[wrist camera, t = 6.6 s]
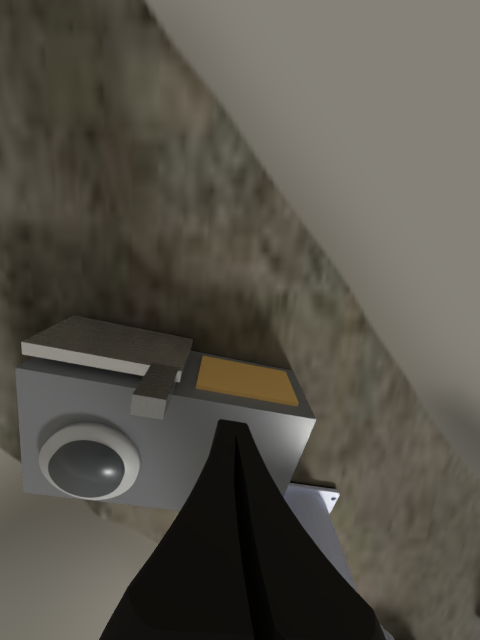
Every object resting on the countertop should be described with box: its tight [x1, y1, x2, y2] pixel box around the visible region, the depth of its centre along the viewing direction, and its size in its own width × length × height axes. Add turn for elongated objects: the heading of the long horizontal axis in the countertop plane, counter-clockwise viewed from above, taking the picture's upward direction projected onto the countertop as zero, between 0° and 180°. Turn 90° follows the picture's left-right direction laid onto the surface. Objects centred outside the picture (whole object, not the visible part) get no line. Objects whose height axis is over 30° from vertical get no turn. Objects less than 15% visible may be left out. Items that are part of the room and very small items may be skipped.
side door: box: [21, 315, 193, 420], centre depth 15 cm, size 1×9×8 cm, turn 76°
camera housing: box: [15, 351, 316, 511], centre depth 18 cm, size 10×18×7 cm, turn 76°
